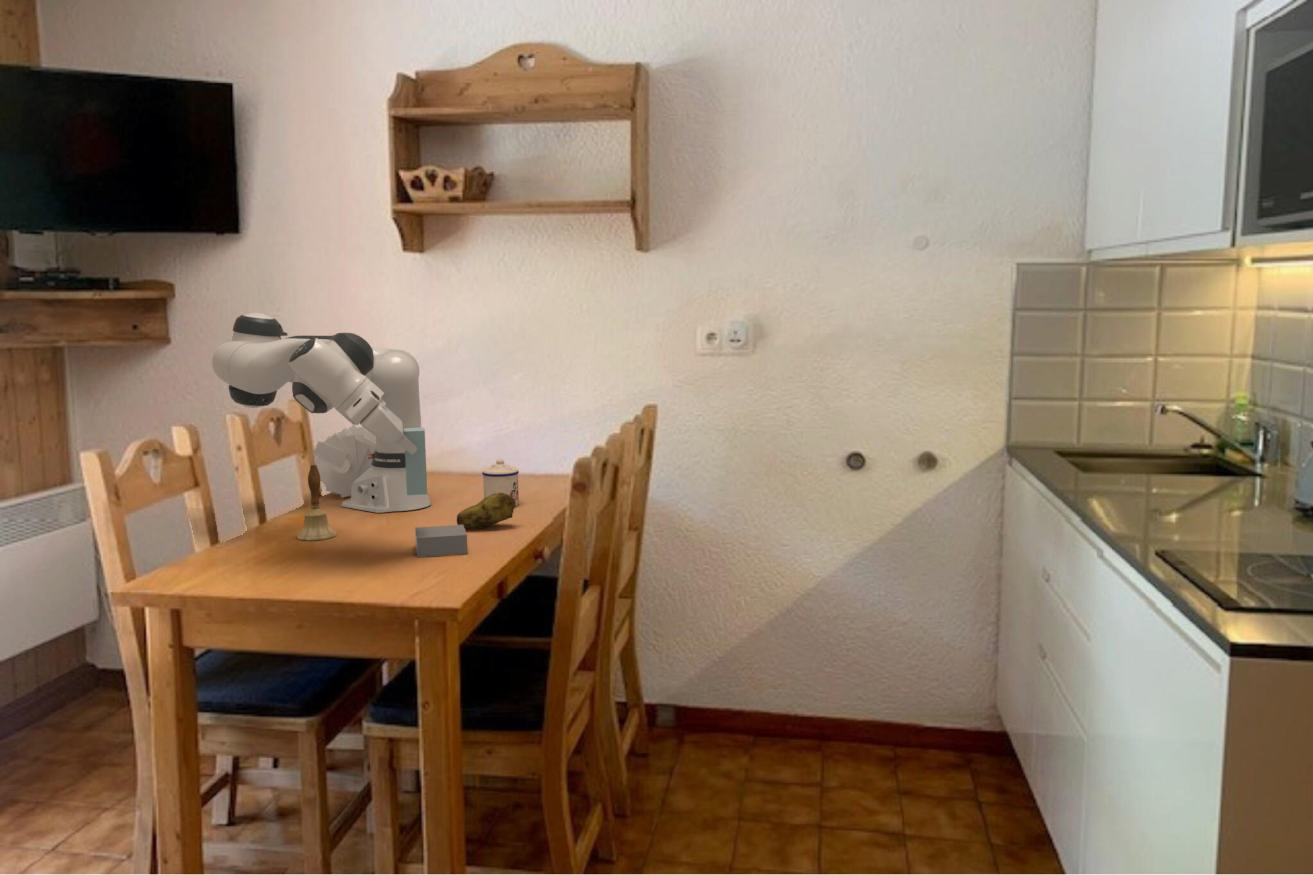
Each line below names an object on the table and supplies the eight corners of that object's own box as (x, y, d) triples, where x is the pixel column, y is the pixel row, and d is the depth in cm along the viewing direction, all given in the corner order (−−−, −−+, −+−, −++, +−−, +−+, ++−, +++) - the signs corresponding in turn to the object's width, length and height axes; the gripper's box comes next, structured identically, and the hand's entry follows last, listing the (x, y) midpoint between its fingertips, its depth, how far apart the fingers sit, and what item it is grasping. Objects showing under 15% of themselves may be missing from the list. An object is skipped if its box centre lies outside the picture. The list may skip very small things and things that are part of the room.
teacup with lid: (518, 508, 258) (516, 462, 256) (481, 509, 258) (479, 463, 256) (522, 499, 270) (521, 454, 268) (486, 500, 269) (485, 455, 268)
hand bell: (302, 532, 234) (298, 462, 232) (339, 531, 235) (336, 461, 233) (292, 541, 226) (288, 468, 224) (331, 540, 227) (328, 468, 224)
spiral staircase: (382, 497, 295) (360, 511, 271) (325, 471, 294) (297, 482, 269) (409, 439, 294) (389, 447, 269) (351, 412, 293) (326, 418, 268)
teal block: (407, 495, 210) (404, 431, 209) (406, 490, 215) (404, 428, 213) (427, 494, 211) (424, 430, 210) (426, 489, 216) (424, 427, 214)
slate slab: (417, 557, 211) (416, 538, 210) (415, 546, 221) (415, 527, 220) (467, 553, 214) (466, 534, 213) (463, 542, 223) (463, 524, 223)
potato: (463, 524, 242) (462, 490, 240) (518, 524, 241) (517, 490, 240) (454, 532, 233) (453, 497, 232) (511, 532, 233) (510, 497, 232)
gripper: (353, 409, 218) (403, 453, 222) (349, 420, 199) (404, 468, 202) (374, 387, 219) (424, 431, 222) (372, 396, 199) (427, 445, 203)
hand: (415, 449), depth 212 cm, fingers closed on teal block, 5 cm apart
